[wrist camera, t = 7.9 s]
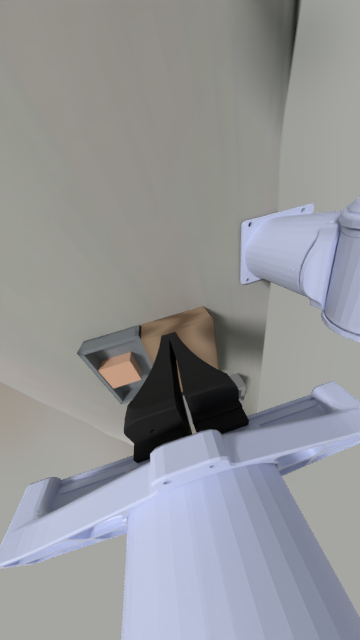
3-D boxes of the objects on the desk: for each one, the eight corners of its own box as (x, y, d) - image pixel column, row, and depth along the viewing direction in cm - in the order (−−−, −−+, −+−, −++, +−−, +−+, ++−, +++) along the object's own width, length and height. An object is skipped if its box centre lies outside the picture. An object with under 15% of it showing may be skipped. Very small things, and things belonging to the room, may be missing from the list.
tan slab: (203, 306, 23) (213, 319, 20) (211, 363, 31) (219, 380, 27) (141, 324, 23) (141, 341, 19) (165, 378, 30) (168, 396, 27)
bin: (139, 325, 23) (138, 335, 20) (163, 378, 30) (165, 390, 28) (83, 341, 22) (76, 353, 20) (122, 391, 30) (121, 404, 28)
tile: (98, 370, 22) (101, 360, 24) (113, 388, 25) (115, 378, 27) (129, 360, 23) (130, 351, 24) (141, 379, 25) (141, 370, 27)
